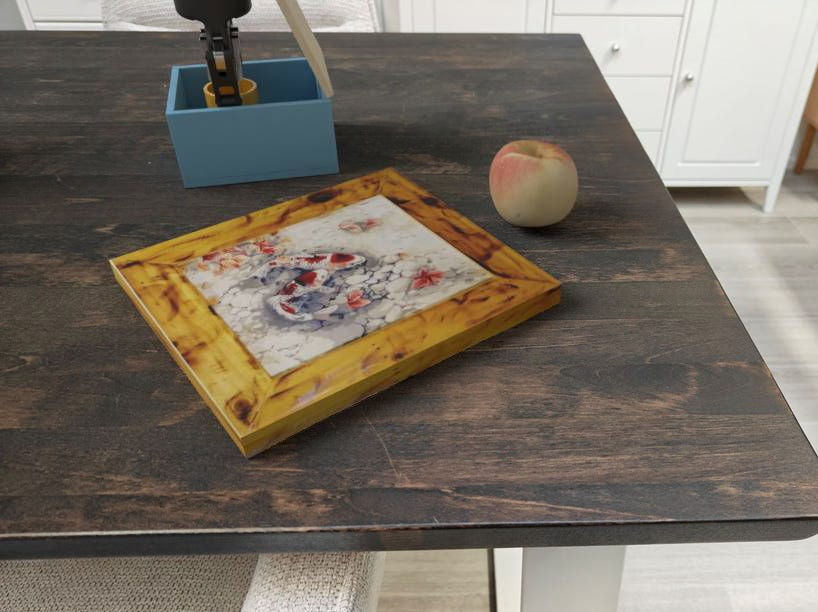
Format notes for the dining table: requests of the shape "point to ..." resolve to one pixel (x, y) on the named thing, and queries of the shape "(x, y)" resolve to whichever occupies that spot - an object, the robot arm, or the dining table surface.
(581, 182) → the dining table surface
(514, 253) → the picture frame
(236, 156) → the box
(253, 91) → the cup
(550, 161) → the apple
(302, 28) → the cooler lid
